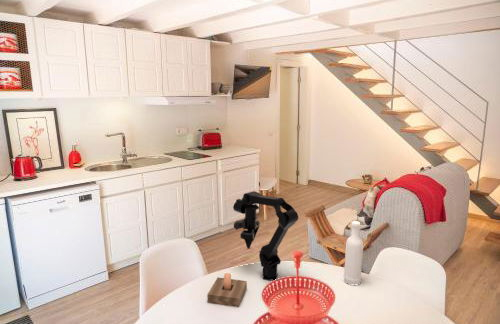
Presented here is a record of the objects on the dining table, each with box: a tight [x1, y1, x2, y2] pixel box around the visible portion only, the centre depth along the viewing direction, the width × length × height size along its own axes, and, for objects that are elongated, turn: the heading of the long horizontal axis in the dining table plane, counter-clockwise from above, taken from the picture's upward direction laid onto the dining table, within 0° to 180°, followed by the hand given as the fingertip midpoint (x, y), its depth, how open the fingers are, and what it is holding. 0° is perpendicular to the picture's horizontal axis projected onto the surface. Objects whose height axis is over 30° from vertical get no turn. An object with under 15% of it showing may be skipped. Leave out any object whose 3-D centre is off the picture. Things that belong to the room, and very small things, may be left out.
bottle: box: [343, 220, 364, 286], centre depth 157 cm, size 8×8×30 cm
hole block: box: [206, 276, 248, 308], centre depth 147 cm, size 14×14×4 cm
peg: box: [223, 272, 232, 291], centre depth 147 cm, size 3×3×10 cm
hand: (250, 244), depth 171 cm, fingers open, 9 cm apart
